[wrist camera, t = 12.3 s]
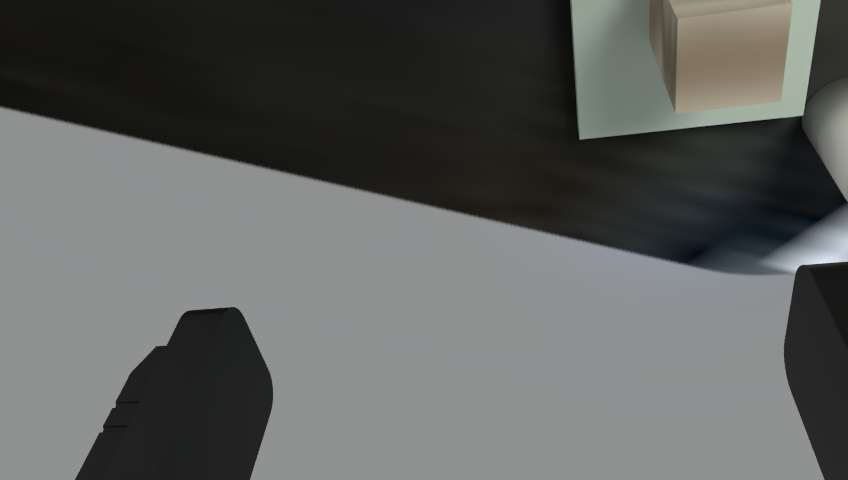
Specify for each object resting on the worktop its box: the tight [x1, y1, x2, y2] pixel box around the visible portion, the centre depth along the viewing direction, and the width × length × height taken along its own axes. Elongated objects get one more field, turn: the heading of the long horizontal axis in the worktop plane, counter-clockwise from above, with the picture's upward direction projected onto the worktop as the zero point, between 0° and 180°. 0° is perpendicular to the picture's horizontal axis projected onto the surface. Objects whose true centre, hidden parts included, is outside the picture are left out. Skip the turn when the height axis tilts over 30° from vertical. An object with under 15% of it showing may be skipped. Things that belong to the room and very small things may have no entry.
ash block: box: [650, 0, 793, 114], centre depth 31 cm, size 4×4×7 cm
